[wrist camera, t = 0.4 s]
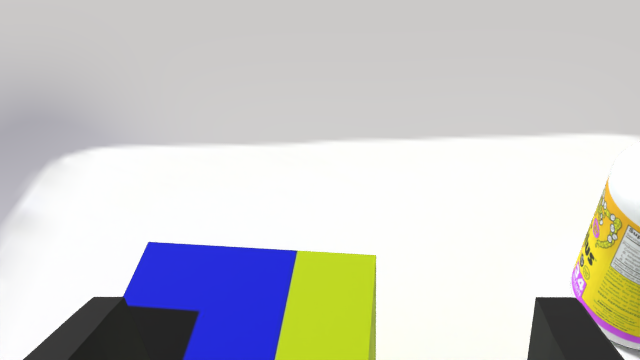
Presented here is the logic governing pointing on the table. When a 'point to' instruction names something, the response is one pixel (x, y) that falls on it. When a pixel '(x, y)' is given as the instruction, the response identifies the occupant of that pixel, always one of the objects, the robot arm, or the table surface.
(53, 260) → the table surface
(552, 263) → the table surface
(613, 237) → the supplement bottle
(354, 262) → the puzzle toy
